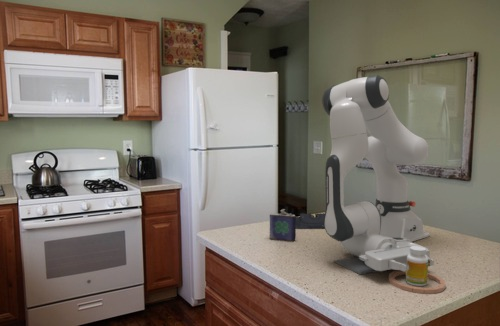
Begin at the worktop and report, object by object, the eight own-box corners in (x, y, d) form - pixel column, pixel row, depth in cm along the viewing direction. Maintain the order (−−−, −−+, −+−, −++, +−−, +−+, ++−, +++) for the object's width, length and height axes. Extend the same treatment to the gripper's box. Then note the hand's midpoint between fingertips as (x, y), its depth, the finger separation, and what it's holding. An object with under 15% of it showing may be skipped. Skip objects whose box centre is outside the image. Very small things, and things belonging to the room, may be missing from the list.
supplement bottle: (429, 287, 107) (430, 251, 106) (407, 285, 108) (409, 250, 107) (424, 279, 113) (426, 245, 112) (404, 278, 114) (405, 244, 113)
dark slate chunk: (275, 221, 181) (275, 211, 180) (323, 221, 182) (323, 210, 181) (279, 230, 165) (279, 219, 165) (332, 230, 166) (332, 218, 166)
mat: (368, 255, 133) (368, 254, 133) (396, 267, 122) (396, 266, 122) (334, 262, 127) (334, 260, 127) (360, 274, 116) (360, 273, 116)
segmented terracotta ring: (414, 270, 120) (414, 266, 120) (457, 287, 107) (457, 283, 107) (377, 277, 114) (377, 274, 114) (418, 297, 101) (419, 293, 101)
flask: (268, 239, 151) (269, 209, 150) (270, 237, 154) (271, 207, 153) (294, 242, 148) (295, 211, 147) (296, 240, 151) (297, 209, 149)
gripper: (355, 245, 117) (391, 260, 104) (406, 237, 126) (445, 249, 113) (354, 266, 117) (390, 283, 105) (406, 256, 126) (444, 271, 114)
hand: (419, 265), depth 109 cm, fingers open, 8 cm apart
